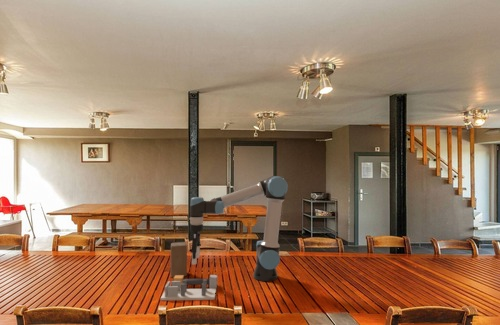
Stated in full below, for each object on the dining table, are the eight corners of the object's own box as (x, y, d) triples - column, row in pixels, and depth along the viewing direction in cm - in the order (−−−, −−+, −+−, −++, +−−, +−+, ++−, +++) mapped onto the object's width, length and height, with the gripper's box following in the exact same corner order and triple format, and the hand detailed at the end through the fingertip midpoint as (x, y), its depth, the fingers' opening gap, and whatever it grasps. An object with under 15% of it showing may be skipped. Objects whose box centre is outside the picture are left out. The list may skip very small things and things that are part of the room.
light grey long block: (215, 290, 173) (216, 277, 173) (214, 299, 161) (214, 285, 161) (165, 291, 172) (165, 278, 172) (160, 300, 160) (160, 286, 160)
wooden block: (170, 278, 193) (171, 246, 193) (170, 273, 202) (170, 242, 203) (186, 276, 195) (187, 245, 196) (185, 271, 205) (186, 241, 206)
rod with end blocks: (216, 285, 182) (217, 274, 182) (216, 288, 177) (216, 277, 177) (175, 285, 181) (175, 275, 181) (173, 288, 176) (173, 278, 176)
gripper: (193, 220, 192) (192, 254, 191) (186, 227, 167) (185, 267, 166) (205, 220, 192) (204, 254, 192) (200, 228, 167) (199, 267, 167)
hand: (195, 260), depth 179 cm, fingers open, 13 cm apart
